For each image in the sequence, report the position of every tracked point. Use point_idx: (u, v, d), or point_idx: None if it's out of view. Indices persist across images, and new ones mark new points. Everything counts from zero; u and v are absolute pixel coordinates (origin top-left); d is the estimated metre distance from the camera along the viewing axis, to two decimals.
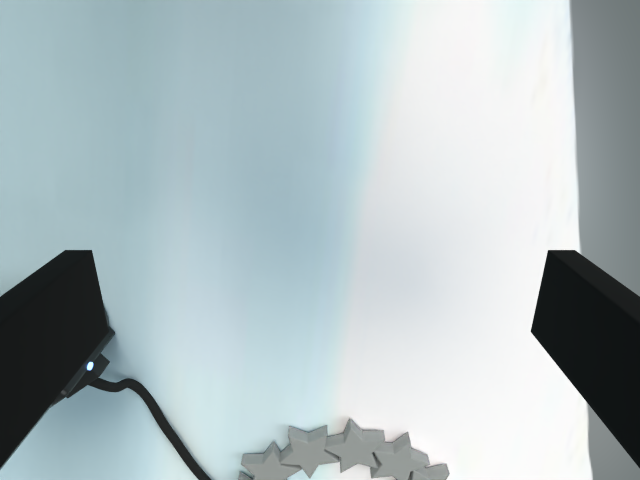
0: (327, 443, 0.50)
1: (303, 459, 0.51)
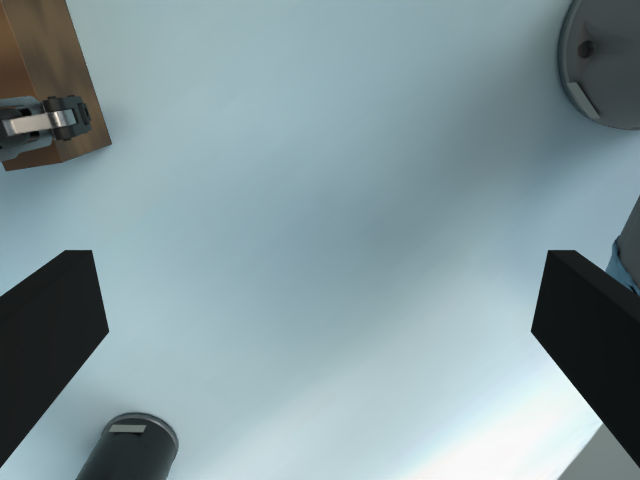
0: None
1: None
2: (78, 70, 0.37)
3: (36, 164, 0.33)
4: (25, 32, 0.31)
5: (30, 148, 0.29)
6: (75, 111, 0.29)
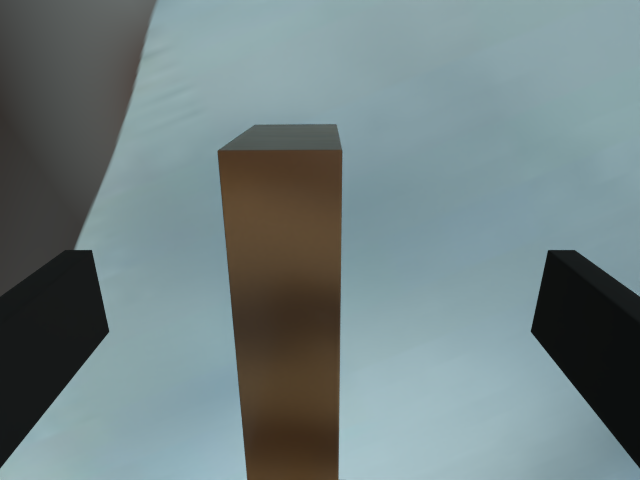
0: None
1: None
2: None
3: None
4: None
5: None
6: None
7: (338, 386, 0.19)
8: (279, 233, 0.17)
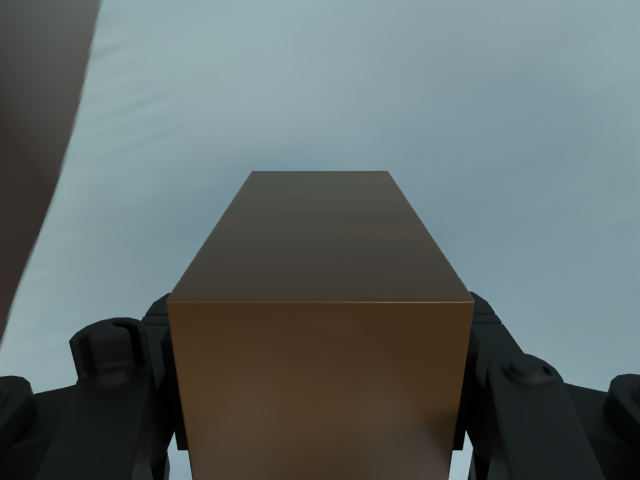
0: None
1: None
2: None
3: None
4: None
5: None
6: None
7: None
8: (311, 464, 0.07)
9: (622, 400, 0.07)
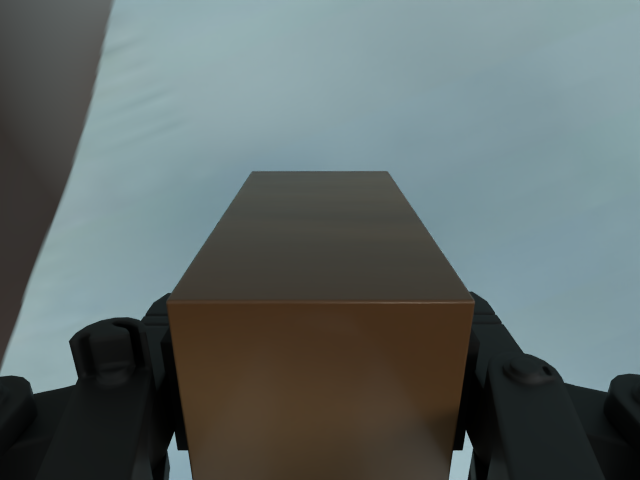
0: None
1: None
2: None
3: None
4: None
5: None
6: None
7: None
8: (312, 464, 0.07)
9: (622, 400, 0.07)
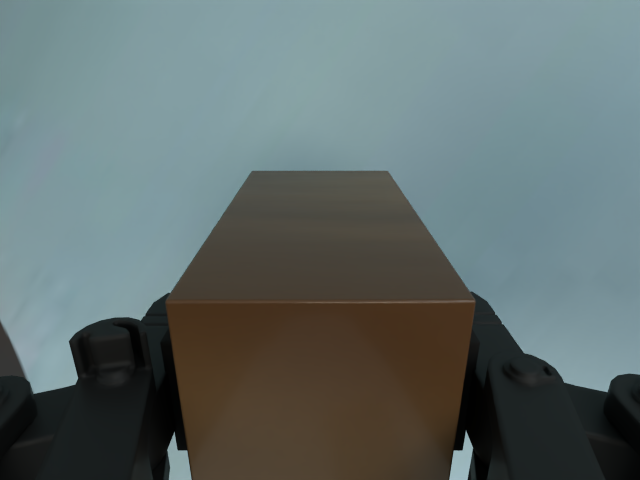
0: None
1: None
2: None
3: None
4: None
5: None
6: None
7: None
8: (311, 465, 0.07)
9: (622, 400, 0.07)
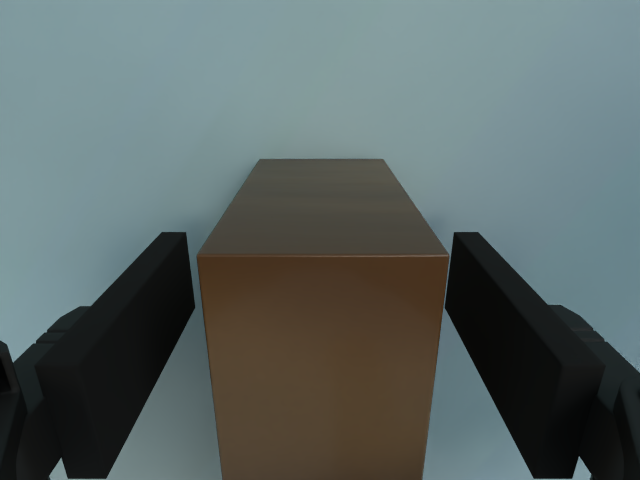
0: None
1: None
2: None
3: None
4: None
5: None
6: None
7: None
8: (315, 397, 0.09)
9: None
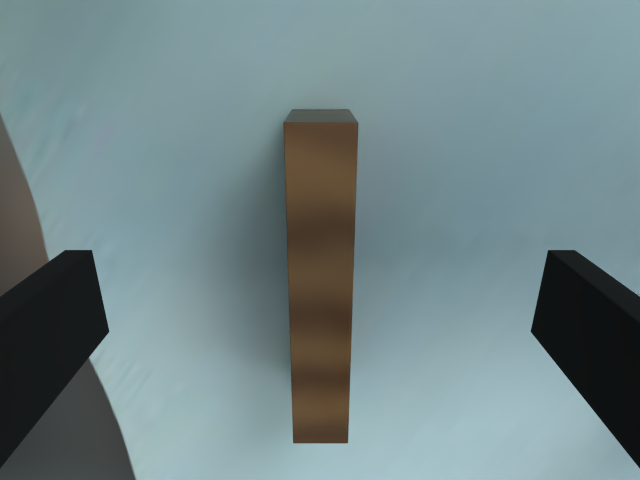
0: None
1: None
2: None
3: (324, 442, 0.36)
4: None
5: None
6: None
7: (352, 277, 0.30)
8: (318, 174, 0.27)
9: None
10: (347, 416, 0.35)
